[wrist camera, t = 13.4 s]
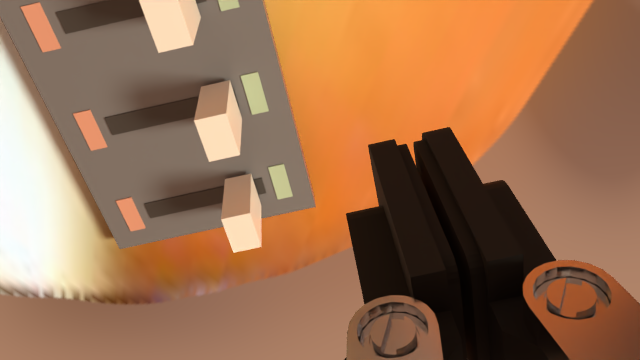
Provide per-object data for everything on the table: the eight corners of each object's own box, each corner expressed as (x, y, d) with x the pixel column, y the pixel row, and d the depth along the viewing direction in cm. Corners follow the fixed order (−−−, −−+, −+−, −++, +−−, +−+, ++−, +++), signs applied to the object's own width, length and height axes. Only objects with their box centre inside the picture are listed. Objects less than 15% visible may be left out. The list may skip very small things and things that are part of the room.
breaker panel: (-6, -19, 36) (-16, -12, 35) (243, -78, 36) (243, -73, 35) (123, 237, 48) (119, 249, 47) (314, 196, 47) (315, 207, 46)
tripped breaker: (201, 86, 39) (194, 120, 35) (229, 80, 39) (226, 113, 35) (214, 125, 41) (209, 162, 37) (242, 119, 41) (239, 155, 37)
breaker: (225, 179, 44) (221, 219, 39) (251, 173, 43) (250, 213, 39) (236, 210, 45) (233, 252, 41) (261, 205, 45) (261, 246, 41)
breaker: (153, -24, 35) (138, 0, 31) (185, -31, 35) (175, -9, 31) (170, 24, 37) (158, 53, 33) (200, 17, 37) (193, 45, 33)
